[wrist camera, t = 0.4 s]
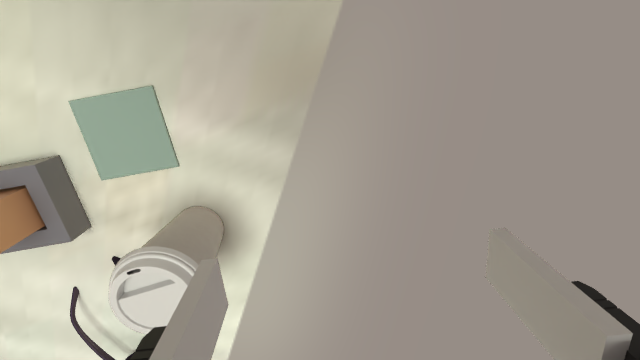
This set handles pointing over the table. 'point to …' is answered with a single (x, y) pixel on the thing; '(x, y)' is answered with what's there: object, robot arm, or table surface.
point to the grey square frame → (47, 201)
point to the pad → (125, 132)
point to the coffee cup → (163, 269)
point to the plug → (17, 216)
